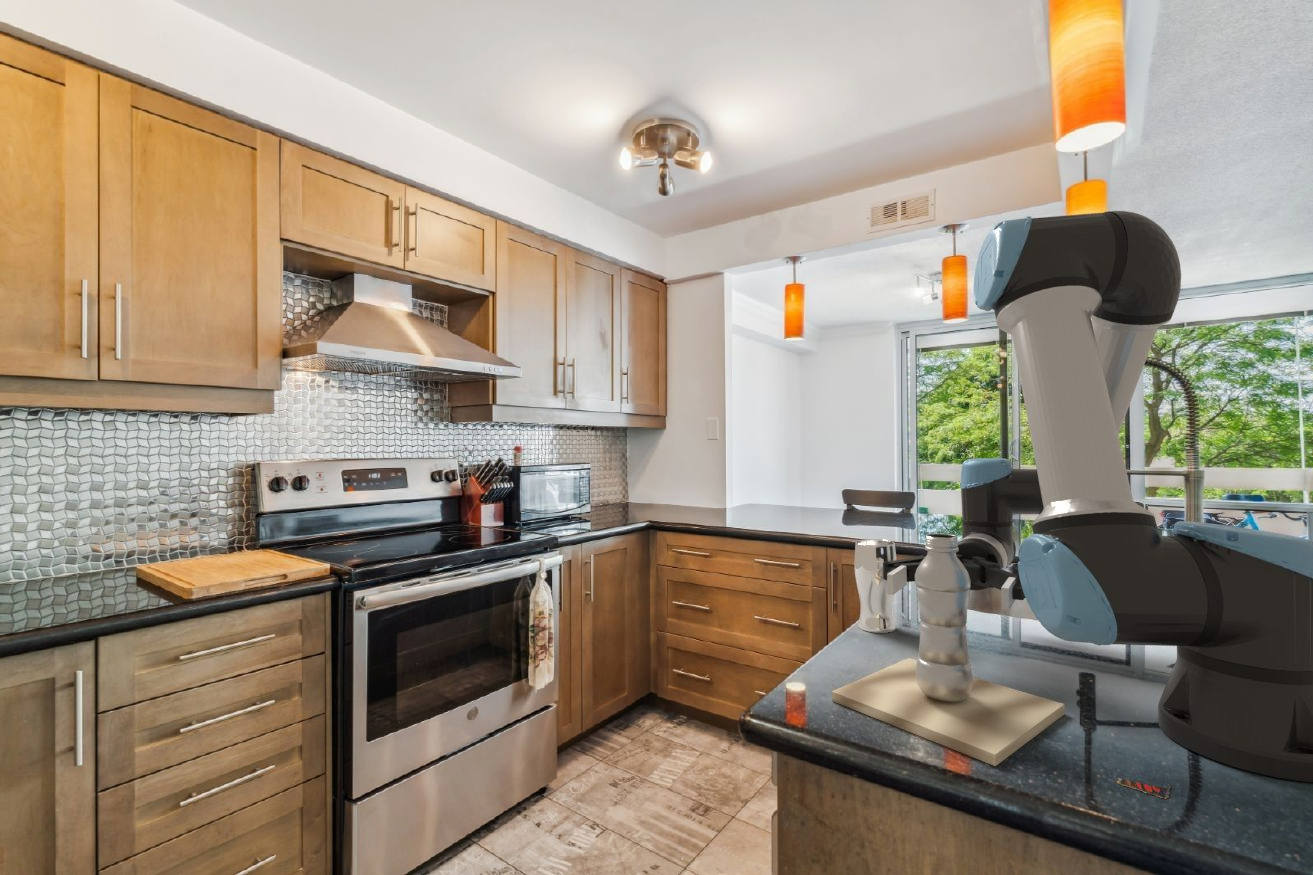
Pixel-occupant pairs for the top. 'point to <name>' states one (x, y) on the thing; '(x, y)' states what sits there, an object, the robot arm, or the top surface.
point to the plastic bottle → (943, 621)
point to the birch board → (953, 712)
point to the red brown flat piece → (1146, 788)
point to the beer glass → (874, 584)
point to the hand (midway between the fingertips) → (944, 591)
